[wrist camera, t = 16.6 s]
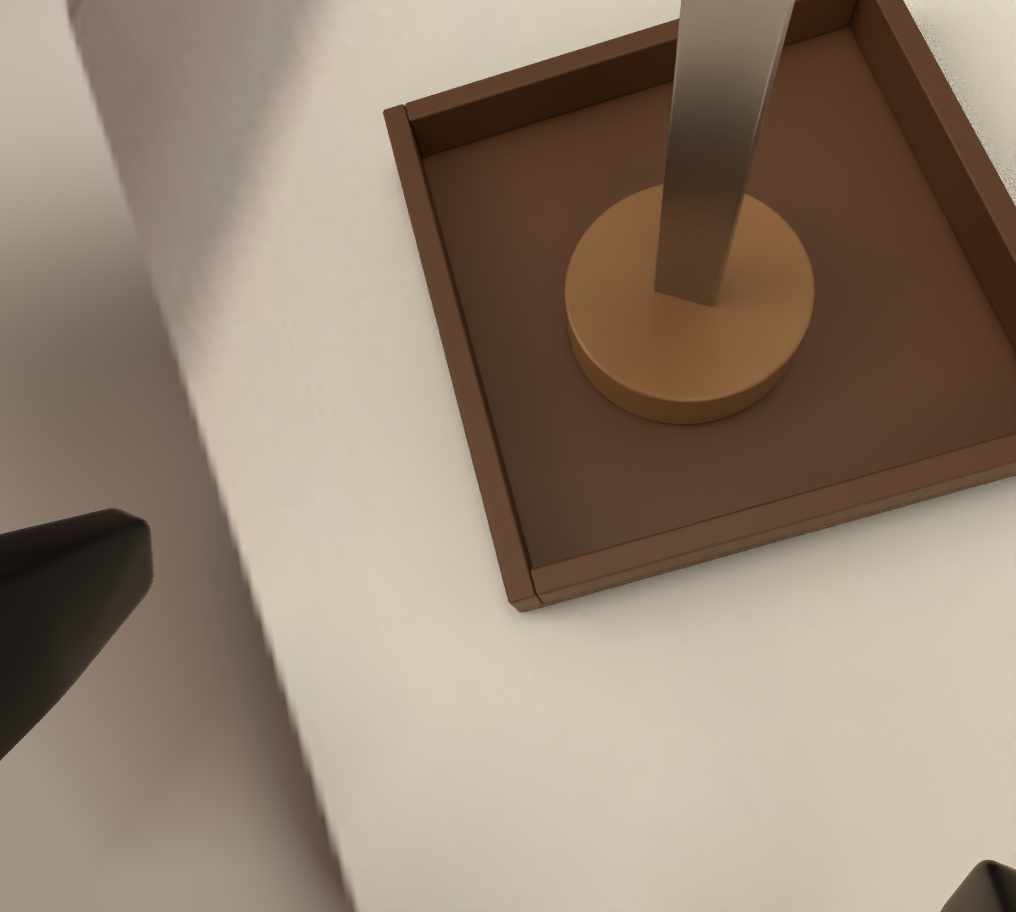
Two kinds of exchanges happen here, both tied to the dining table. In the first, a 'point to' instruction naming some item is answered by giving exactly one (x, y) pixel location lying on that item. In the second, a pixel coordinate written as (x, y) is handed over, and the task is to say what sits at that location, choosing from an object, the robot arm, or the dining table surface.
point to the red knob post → (697, 242)
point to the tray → (819, 359)
